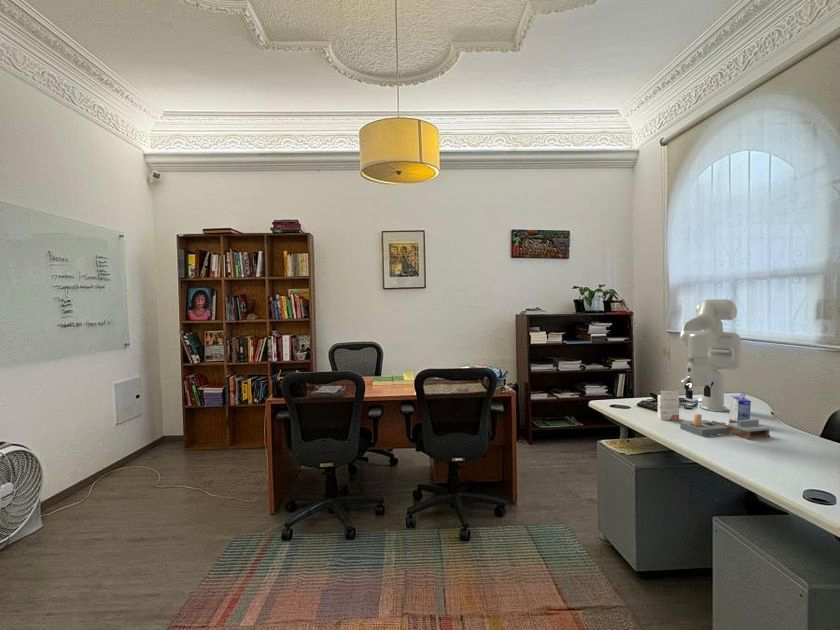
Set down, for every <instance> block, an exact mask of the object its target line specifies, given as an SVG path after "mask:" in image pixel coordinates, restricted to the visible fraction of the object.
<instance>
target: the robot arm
mask: <svg viewBox="0 0 840 630" xmlns="http://www.w3.org/2000/svg"><path fill="white" fill-rule="evenodd" d="M695 311H696V314H695V317H692V318H691V319H689V320H687V321H686V322H685V323H684V324H683V325H682V327H681V330H680V333H679V338H678V339H679V343H680V345H682V346H684V347H688V358H687V365H686V370H685V378H683V379H682V380H680V383H681V386H682V387H683V389H684V390H685V398H686V399H688V400H693V395H694V394H693V390H692V389H694V387H702V397H700V398H699V399H697V402H698V403H700V405H699V409H702V410H704V411H705V410H706V411H710V412H727V411H728V407H727V406H725V376H724V375H723V373H722V372H721V371H720V370H724V371H725V370H728V371H729V370H730V371H738V370H740V368H741V365H742V345H741V344H742V343H741V336H740V335H739V334H738V333H736V332H730V331H729V332H728V331H726V332H725V331H724V327H723V326H724V324H723V321H733V320H735V318H737V315H738V314H737V313H738V308H737V306H736V304H735V302H734V301H733V300H731V299H724V298H723V299H718V298H717V299H714V298H713V299H704V300H702V301H700V303H699V304H697V306H696V307H695ZM722 320H723V321H722Z"/></svg>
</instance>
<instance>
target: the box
mask: <svg viewBox="0 0 840 630" xmlns="http://www.w3.org/2000/svg"><path fill="white" fill-rule="evenodd" d="M711 422H713V423H716V424H719V425H722V426H726V427H729V433H730V434H729V435H732V434H733V436H735V435H736V436H735V437H739V438H741V439H745V440H757V439H765V438H768V439H769V438H771V435H770V430H769V429H768V430H761V431H751V432H746V431H743V430H740V429H737V428H734V427H730V426H728V424H730V423H737V421H735V420H732V419H730V418H729V420H728V423H726V422H722V421H721V422H718V421H715V420H711Z"/></svg>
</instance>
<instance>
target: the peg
mask: <svg viewBox="0 0 840 630" xmlns="http://www.w3.org/2000/svg"><path fill="white" fill-rule="evenodd" d="M701 420H702V414H701V413H693V421H694V426H696V427H701Z"/></svg>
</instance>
